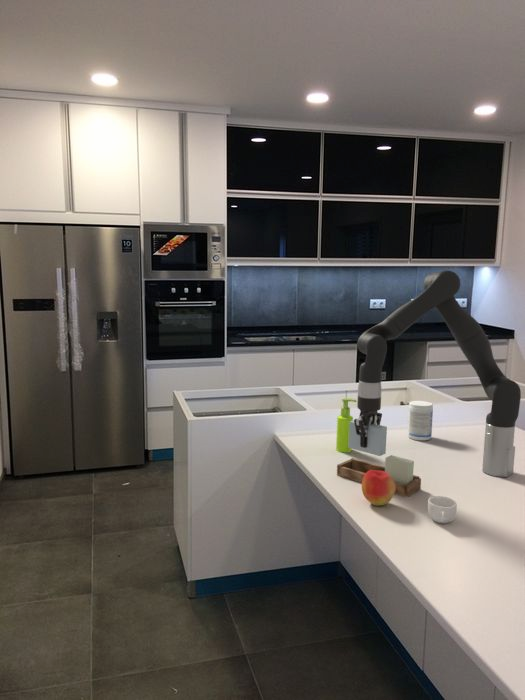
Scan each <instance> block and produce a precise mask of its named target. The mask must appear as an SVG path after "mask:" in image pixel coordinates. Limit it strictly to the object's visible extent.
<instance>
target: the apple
mask: <svg viewBox="0 0 525 700" xmlns="http://www.w3.org/2000/svg"><path fill="white" fill-rule="evenodd" d="M395 490H396V486H395V483H394V480H393V479H392V477H391V476H390V475H389V474H388V473H386V472H384V471H378V470H369V471H368V472H366V474H365V475H364V477H363V481H362V483H361V491H362V494H363V497H364V498H365V499H366V500H367V501H368V502H369V503H370V504H371V505H373V506H378V507H379V506H385V505H387V504H389V503H390V501H392V499H393V498H394V495H395V494H396V493H395Z"/></svg>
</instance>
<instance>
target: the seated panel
mask: <svg viewBox="0 0 525 700" xmlns="http://www.w3.org/2000/svg"><path fill="white" fill-rule="evenodd" d="M384 460H385V461H384V467H385V472H386V473H388V474H389V475H390V476H391V477H392V479H393V480H394V482H397V483H400V484H404V485H405V484H407V483H409V482H411V481H413V475H414V467H415V460H411V459H408V458H404V457H400V456H396V455H392V454H390V455H389V456H386V457H385V459H384Z"/></svg>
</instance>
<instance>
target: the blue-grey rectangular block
mask: <svg viewBox="0 0 525 700" xmlns="http://www.w3.org/2000/svg"><path fill="white" fill-rule="evenodd" d="M363 426H364V427H367V426H365V425H363ZM369 427H370V429H369V430H368V436H367V437H368V438H367V447H366V448H363V447H361V446H360V438H361V437H360V435H357V434H356V429H355V423H354V419H353V421H350V422H349V445H348V448H351V449H352V450H356V451H359V452H363V453H367V454H369V455H373V456H377V457H381V456H383V455H385V454H386V453H387V452H386V451H387V433H388V432H387V431H388V430H387V429H388V426H387V425H386V426H385V425H381V424H380V425H377V424H372V425H371V426H369ZM359 431H360V430H359ZM364 432H365V429H364Z"/></svg>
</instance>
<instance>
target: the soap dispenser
mask: <svg viewBox="0 0 525 700" xmlns="http://www.w3.org/2000/svg"><path fill="white" fill-rule="evenodd" d="M341 401H342V402H343V406H342V407H341V408H340V415H337V418H336V419H337V420H336V422H337V423H336V444H335V445H336V448H335V451H337V452H339V453H351V452H352V450H353V449H351V448H348V445H349V422H350V421H353V420H354V417H353V415H350V414H351V412H350V411H351V408H350V407H349V402H353V403H357V399H354V398H341Z"/></svg>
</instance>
